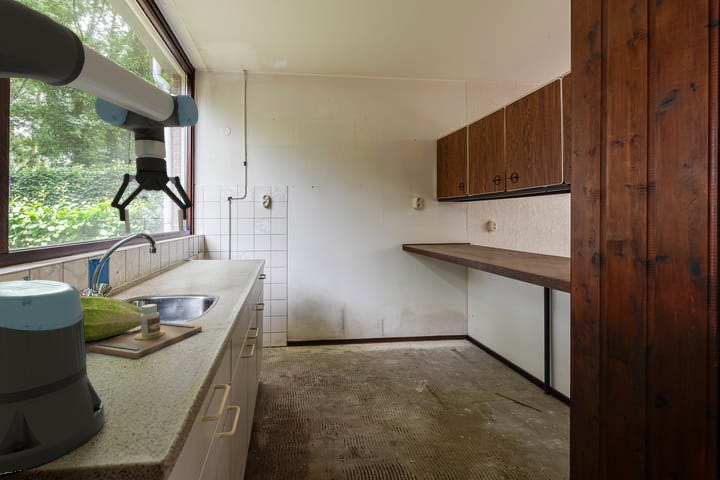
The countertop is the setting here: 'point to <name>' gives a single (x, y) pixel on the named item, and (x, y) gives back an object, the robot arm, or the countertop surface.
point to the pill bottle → (150, 320)
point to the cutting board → (144, 340)
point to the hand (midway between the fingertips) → (155, 232)
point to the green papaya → (108, 317)
